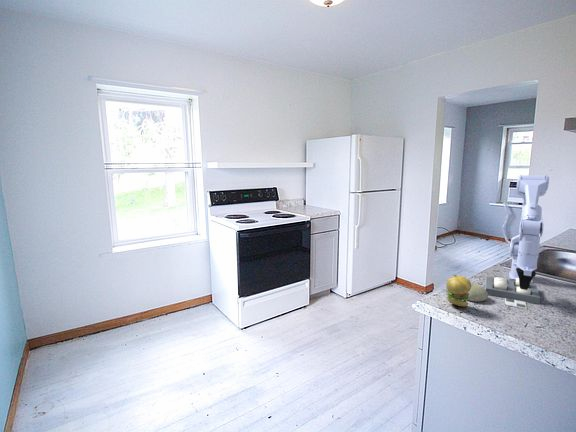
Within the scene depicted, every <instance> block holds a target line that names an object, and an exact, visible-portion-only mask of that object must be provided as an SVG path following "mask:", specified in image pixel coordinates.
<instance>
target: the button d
mask: <svg viewBox="0 0 576 432" xmlns="http://www.w3.org/2000/svg"><path fill="white" fill-rule="evenodd" d="M516 292H518V293H523V294H529V295H530V293H531V289H529V288H528V289H527V290H525V289H520V286H519V287H517V288H516Z"/></svg>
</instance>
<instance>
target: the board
mask: <svg viewBox="0 0 576 432" xmlns="http://www.w3.org/2000/svg"><path fill="white" fill-rule="evenodd" d="M494 278H495V277H493V276H487V277H486V283H485V290H486V291H487V294H488V296H492V297H496V298H497V297H498V298H503V299H505V298H507V299H512V300H518V301H523V302H526V303H529V304H530V303H531V304H537V305H540V304H541V303H540V302H541V297H540V293H539V289H538V287H537V284H536V283H531V282H530V285H529V289H531V293H530V295H529V294H523V293H518V292H516V288H517V287H519V286H515V283H516V280H512V279H506V278H505V279H506V280H507V282H508V285H507V291H506V290H501V289H495V288H494Z"/></svg>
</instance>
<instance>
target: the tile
mask: <svg viewBox="0 0 576 432" xmlns="http://www.w3.org/2000/svg"><path fill="white" fill-rule="evenodd" d="M526 303H527V302H524V301H519V300H513V299H508V298H504V305H505V306H508V307H514V308H518V309H522V310H523V309H525V310H528V309H527V304H526Z"/></svg>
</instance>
